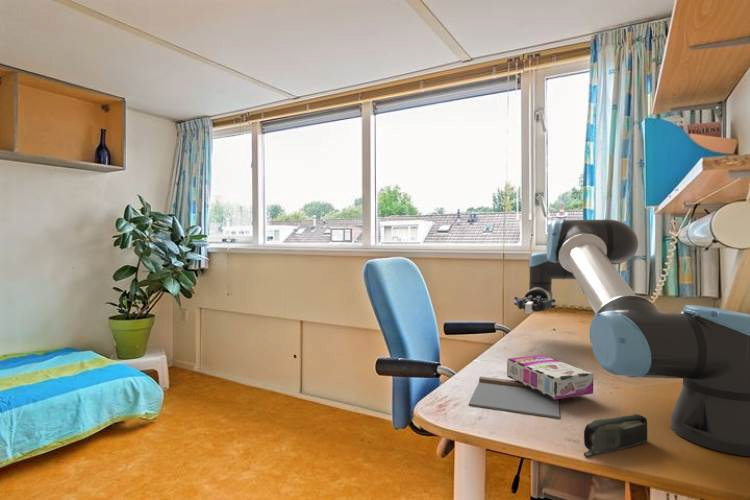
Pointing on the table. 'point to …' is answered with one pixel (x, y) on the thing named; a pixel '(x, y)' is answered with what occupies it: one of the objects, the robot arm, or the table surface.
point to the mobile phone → (615, 434)
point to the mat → (514, 400)
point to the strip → (502, 382)
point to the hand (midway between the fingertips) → (527, 308)
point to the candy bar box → (550, 376)
